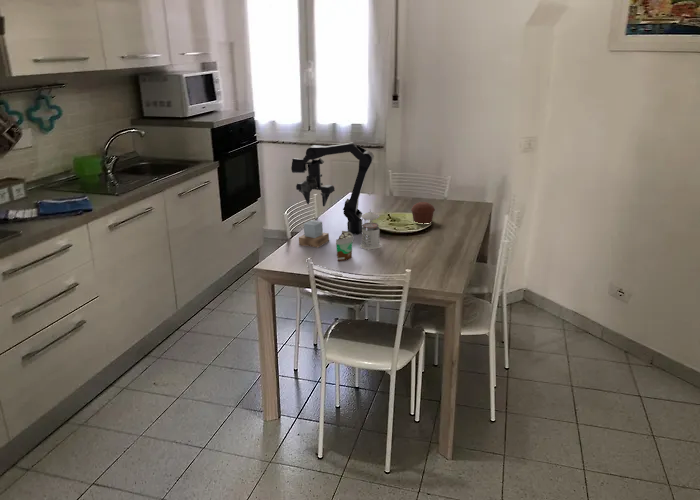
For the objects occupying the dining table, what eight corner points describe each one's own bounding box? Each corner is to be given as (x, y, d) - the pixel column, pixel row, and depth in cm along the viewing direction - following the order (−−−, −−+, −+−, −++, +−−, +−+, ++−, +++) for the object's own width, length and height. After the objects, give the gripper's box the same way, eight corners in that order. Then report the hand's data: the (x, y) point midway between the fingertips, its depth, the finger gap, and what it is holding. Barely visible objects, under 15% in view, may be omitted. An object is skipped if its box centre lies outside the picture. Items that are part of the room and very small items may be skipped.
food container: (351, 263, 240) (350, 240, 237) (336, 262, 241) (335, 239, 238) (356, 252, 251) (356, 230, 248) (343, 252, 253) (342, 230, 249)
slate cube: (322, 234, 265) (322, 221, 263) (315, 238, 260) (314, 225, 258) (312, 232, 268) (311, 220, 266) (304, 236, 263) (303, 223, 261)
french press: (366, 250, 253) (365, 195, 244) (354, 243, 263) (352, 189, 254) (386, 246, 257) (385, 191, 249) (373, 239, 267) (372, 186, 258)
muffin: (408, 224, 286) (408, 205, 283) (414, 218, 296) (414, 199, 292) (431, 226, 282) (432, 206, 278) (437, 220, 291) (437, 200, 288)
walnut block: (329, 241, 267) (328, 233, 266) (318, 248, 259) (317, 240, 258) (310, 238, 272) (309, 230, 270) (299, 245, 263) (298, 237, 262)
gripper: (287, 174, 270) (290, 207, 275) (320, 178, 260) (322, 211, 266) (302, 169, 279) (304, 201, 284) (334, 173, 269) (335, 205, 274)
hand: (316, 205), depth 277 cm, fingers open, 9 cm apart
